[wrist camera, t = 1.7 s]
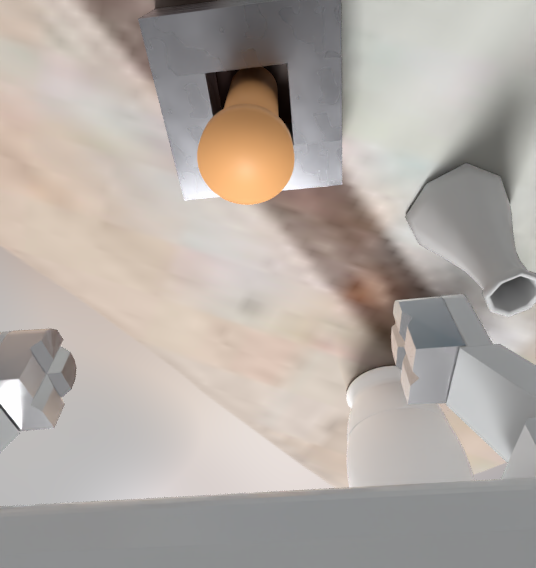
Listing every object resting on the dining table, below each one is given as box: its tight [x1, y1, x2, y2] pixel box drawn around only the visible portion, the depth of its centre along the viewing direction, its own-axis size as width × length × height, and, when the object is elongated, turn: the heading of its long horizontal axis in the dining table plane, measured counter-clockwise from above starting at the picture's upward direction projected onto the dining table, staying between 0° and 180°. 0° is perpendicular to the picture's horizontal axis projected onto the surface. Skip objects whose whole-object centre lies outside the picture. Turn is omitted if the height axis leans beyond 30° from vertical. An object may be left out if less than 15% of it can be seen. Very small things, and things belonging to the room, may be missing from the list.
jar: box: [346, 366, 475, 487], centre depth 40 cm, size 11×10×15 cm
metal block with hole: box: [138, 0, 342, 200], centre depth 26 cm, size 10×10×4 cm
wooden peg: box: [197, 67, 294, 205], centre depth 23 cm, size 4×4×11 cm
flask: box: [405, 163, 536, 317], centre depth 29 cm, size 7×7×10 cm
